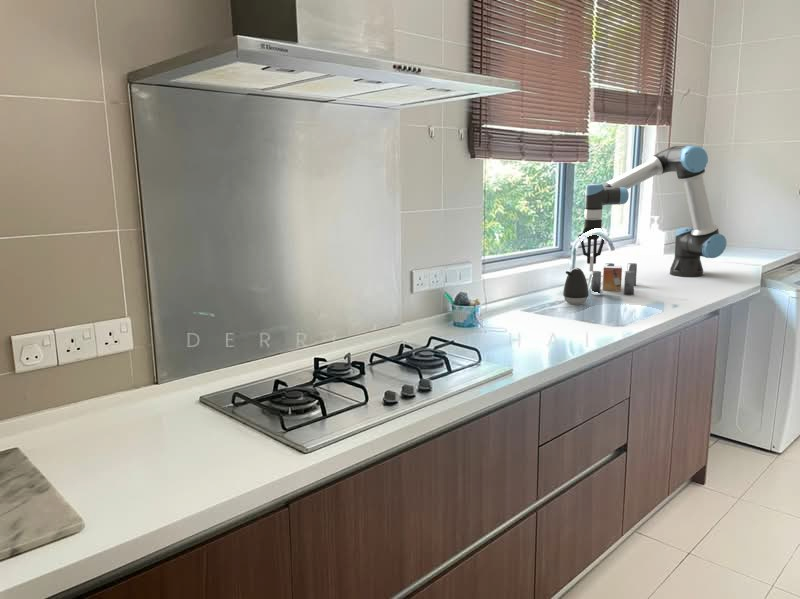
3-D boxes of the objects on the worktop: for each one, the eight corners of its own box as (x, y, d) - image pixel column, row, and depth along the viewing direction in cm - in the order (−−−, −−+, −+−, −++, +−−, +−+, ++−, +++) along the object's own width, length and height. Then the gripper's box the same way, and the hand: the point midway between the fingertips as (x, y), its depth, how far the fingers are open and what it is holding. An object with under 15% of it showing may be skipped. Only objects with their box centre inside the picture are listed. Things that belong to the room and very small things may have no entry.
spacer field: (635, 284, 300) (636, 263, 298) (644, 295, 277) (645, 272, 275) (586, 284, 304) (587, 263, 302) (591, 295, 281) (592, 272, 279)
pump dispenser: (557, 303, 269) (558, 267, 266) (577, 299, 273) (577, 264, 270) (573, 307, 260) (574, 271, 257) (593, 304, 264) (594, 268, 261)
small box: (602, 290, 289) (603, 267, 287) (602, 288, 295) (603, 265, 292) (621, 291, 287) (622, 267, 285) (620, 288, 292) (621, 265, 290)
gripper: (607, 217, 288) (605, 269, 293) (577, 218, 290) (575, 269, 295) (609, 219, 281) (606, 272, 286) (578, 219, 283) (576, 272, 288)
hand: (591, 270), depth 291 cm, fingers closed
